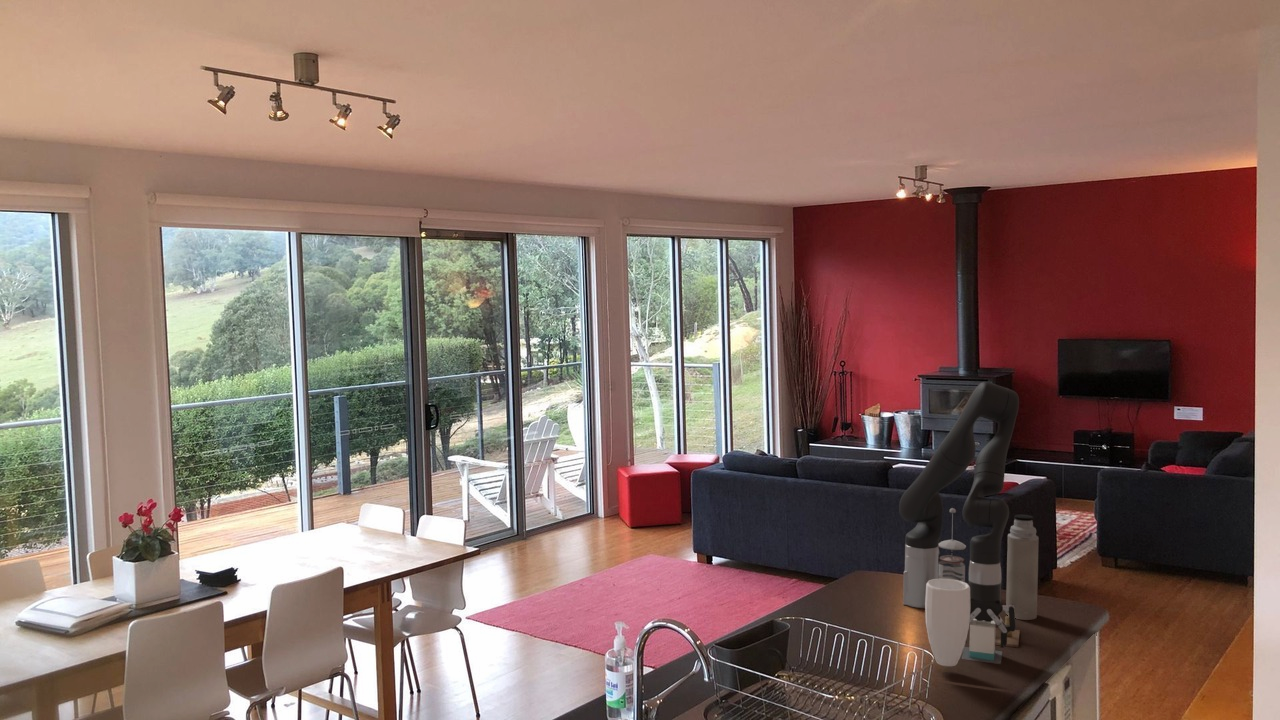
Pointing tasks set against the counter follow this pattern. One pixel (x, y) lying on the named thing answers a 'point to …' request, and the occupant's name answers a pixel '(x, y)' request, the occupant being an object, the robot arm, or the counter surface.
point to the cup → (947, 618)
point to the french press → (951, 559)
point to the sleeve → (982, 640)
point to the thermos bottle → (1022, 568)
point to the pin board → (1011, 636)
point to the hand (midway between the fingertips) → (983, 644)
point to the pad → (996, 659)
